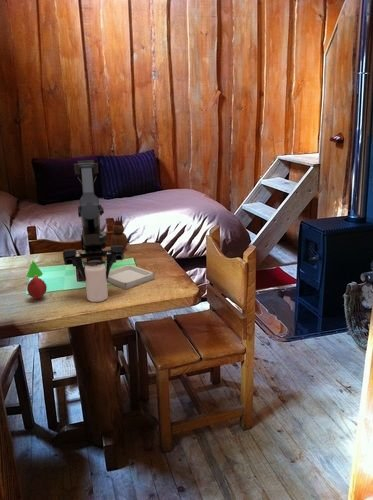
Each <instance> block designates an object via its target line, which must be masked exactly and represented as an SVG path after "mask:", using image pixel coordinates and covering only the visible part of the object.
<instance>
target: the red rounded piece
mask: <svg viewBox="0 0 373 500" xmlns="http://www.w3.org/2000/svg"><path fill="white" fill-rule="evenodd" d="M47 289H48V286H47V284H46V281H44V280H43V279H41V278H40V277H38V276H37V275H35V276H34V278H31V279H30V281H29V282H28V284H27V286H26V291H27V293H28V294H29V296H30V297H31V298H33V299H36V300H40V299H41V298H42V297H43V296H44V295H45V294H46V292H47Z"/></svg>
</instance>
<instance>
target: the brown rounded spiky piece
mask: <svg viewBox="0 0 373 500" xmlns="http://www.w3.org/2000/svg"><path fill="white" fill-rule="evenodd" d="M112 232H113V233H112V234H111V237H110V244H111V246H117V245H122V246H123V249H124V251H126V249H127V245H128V237H127V234H125V233H124V232H125V227H124V225H123V216H122V215H120V217H119V216H117V218H116V219H115V220H114V221H113V226H112Z"/></svg>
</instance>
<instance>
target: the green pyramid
mask: <svg viewBox="0 0 373 500" xmlns="http://www.w3.org/2000/svg"><path fill="white" fill-rule="evenodd" d="M35 275H37V276H38V278H40V277H42V276H43V275H44V274H43V272H42V270H41V269H40V267H38V264H36V263H35V260H31V264H30V266H29V269H28V271H27V274H26V277H27V278H28V279H33V278H34V276H35Z"/></svg>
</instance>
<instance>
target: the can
mask: <svg viewBox="0 0 373 500" xmlns="http://www.w3.org/2000/svg"><path fill="white" fill-rule="evenodd" d="M103 261H104V260H103ZM103 261H101V260H92V261H88V262H86V264H85V267H84V272H85V279H86V281H85V287H86V288H85V289H86V298H87V300H88V301H89V302H91V303H101V302H104V301H106V300H107V299H108V298H109V297H108V292H109V291H108V282H107V278H106V265H105V263H104V262H103Z"/></svg>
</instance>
